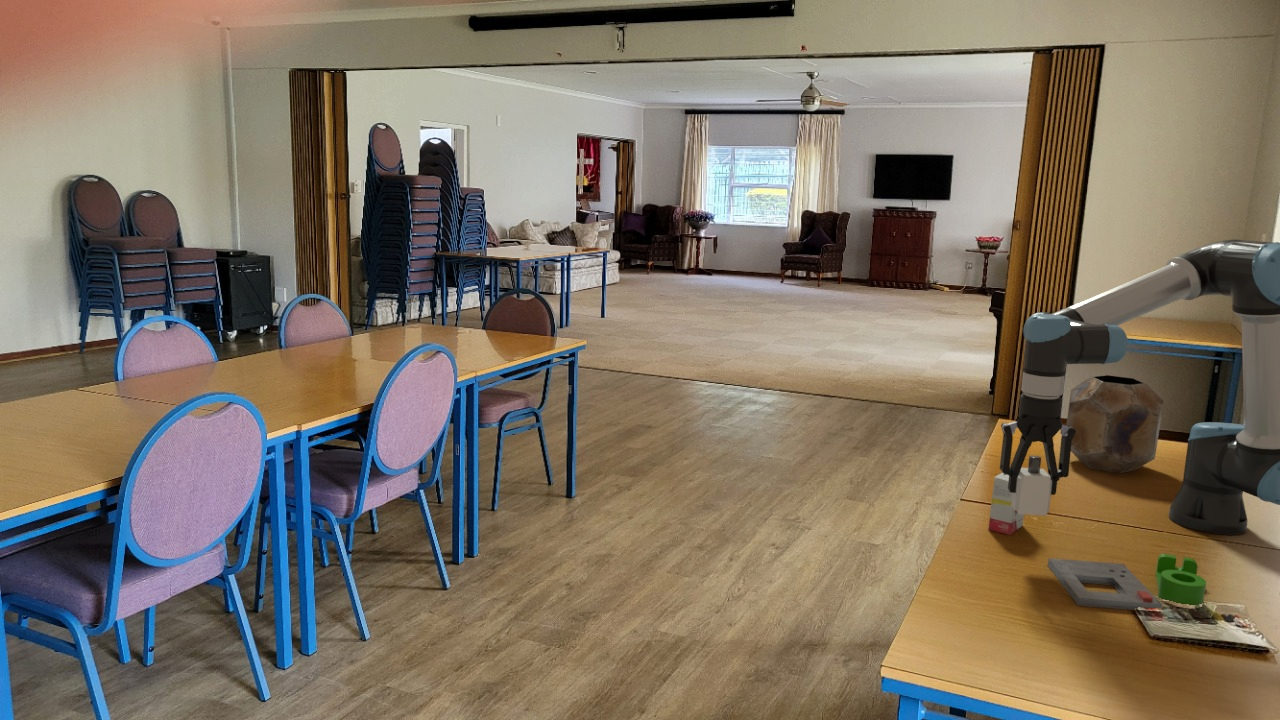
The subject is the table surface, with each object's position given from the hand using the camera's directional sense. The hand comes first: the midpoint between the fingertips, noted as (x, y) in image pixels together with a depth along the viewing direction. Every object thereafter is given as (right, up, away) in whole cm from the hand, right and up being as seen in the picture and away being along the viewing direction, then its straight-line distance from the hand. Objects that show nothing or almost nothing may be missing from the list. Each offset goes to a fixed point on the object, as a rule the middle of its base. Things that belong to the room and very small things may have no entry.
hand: (1029, 508), depth 186 cm
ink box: (+2, -7, +18) cm, 20 cm away
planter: (+49, +1, +67) cm, 83 cm away
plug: (0, 0, 0) cm, 0 cm away
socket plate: (+9, -13, -11) cm, 19 cm away
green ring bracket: (+23, -14, -12) cm, 29 cm away
